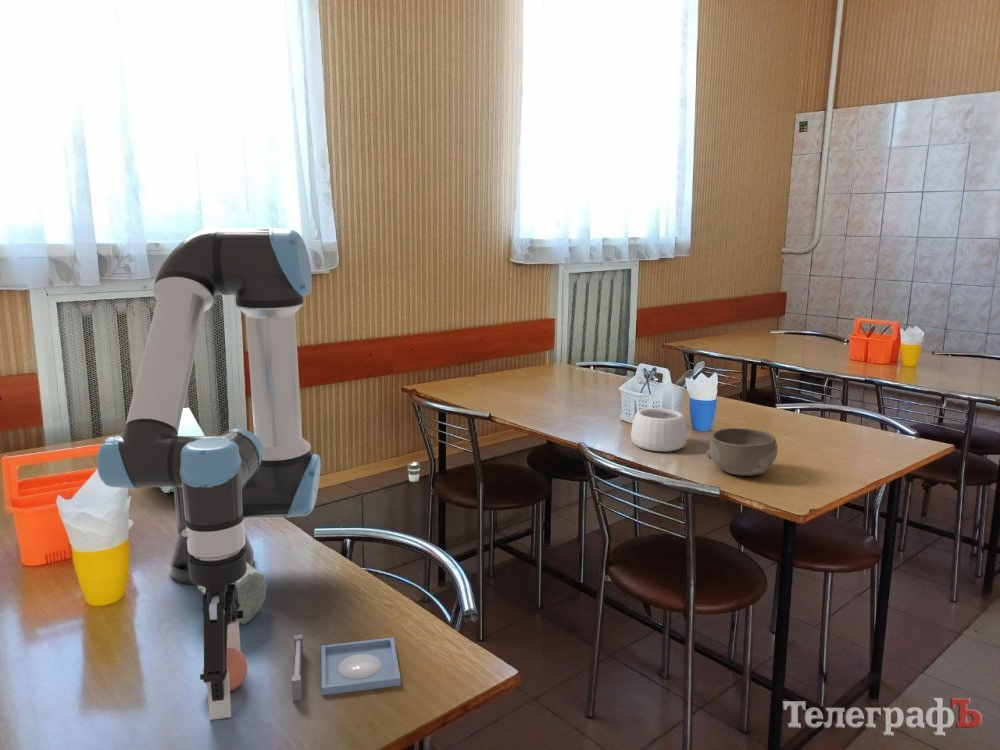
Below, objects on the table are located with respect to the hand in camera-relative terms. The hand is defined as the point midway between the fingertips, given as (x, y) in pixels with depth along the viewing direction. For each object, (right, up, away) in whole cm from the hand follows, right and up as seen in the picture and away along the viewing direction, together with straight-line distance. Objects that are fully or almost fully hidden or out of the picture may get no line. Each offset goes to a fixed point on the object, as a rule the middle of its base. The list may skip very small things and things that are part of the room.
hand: (226, 687), depth 110 cm
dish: (+18, +1, +5) cm, 19 cm away
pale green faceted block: (-40, +16, +79) cm, 90 cm away
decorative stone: (-6, +4, +20) cm, 21 cm away
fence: (+10, 0, +3) cm, 10 cm away
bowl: (+105, +19, +98) cm, 145 cm away
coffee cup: (+17, +17, +88) cm, 91 cm away
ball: (0, 0, 0) cm, 0 cm away
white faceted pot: (+87, +24, +123) cm, 152 cm away
